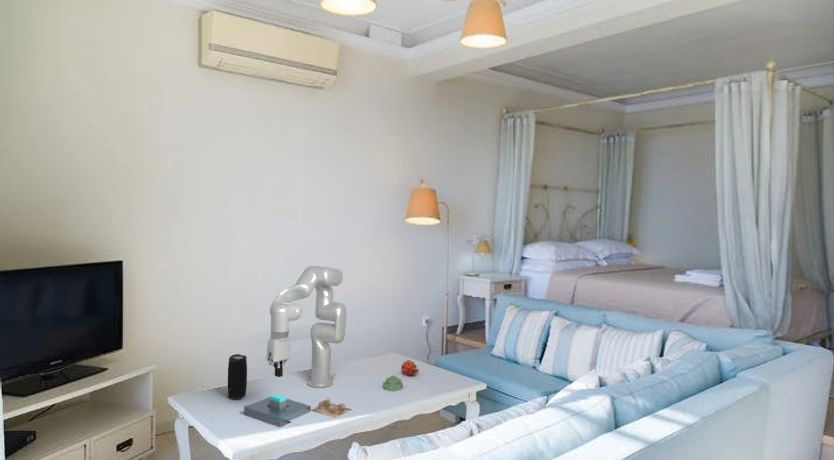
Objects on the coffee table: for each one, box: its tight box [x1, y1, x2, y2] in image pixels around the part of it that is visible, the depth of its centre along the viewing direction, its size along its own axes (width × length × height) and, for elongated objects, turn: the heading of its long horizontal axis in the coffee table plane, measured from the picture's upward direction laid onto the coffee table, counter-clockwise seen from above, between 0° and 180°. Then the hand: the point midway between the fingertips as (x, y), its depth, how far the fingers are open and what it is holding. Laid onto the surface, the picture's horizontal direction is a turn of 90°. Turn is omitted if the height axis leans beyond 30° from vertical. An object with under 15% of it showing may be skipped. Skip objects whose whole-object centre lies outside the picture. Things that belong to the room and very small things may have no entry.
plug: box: [269, 393, 288, 410], centre depth 238 cm, size 4×6×8 cm, turn 58°
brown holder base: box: [311, 398, 353, 419], centre depth 243 cm, size 12×14×4 cm
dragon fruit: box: [400, 359, 420, 378], centre depth 299 cm, size 8×8×12 cm
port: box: [243, 396, 312, 428], centre depth 238 cm, size 18×22×4 cm
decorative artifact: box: [382, 374, 404, 392], centre depth 278 cm, size 10×7×10 cm
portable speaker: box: [227, 353, 248, 401], centre depth 256 cm, size 9×9×20 cm
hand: (278, 376), depth 238 cm, fingers closed
